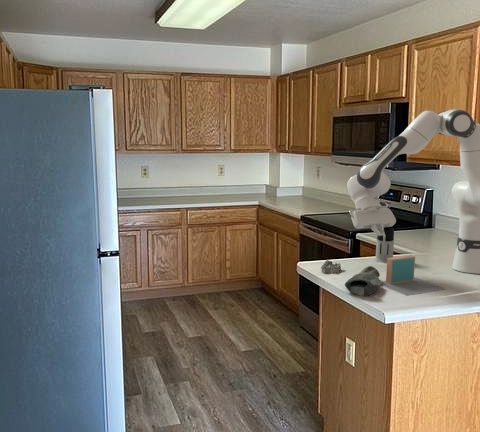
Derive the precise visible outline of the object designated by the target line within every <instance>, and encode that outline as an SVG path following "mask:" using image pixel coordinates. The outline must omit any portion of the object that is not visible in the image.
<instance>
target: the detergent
mask: <svg viewBox="0 0 480 432" xmlns="http://www.w3.org/2000/svg"><path fill="white" fill-rule="evenodd" d="M380 276H381V274H380V272H379V270H378V269H377V268H376V267H374V266H371V265H368V266H366V267H364V268H363V269H362V270H361V271H360V272H359V273H356V274H354V275H353V276H351V278H349V279H348V280H347V281H346V282H345V283H344V286H345V289H347V290H348V291H349V292H350V293H351V294H353V295H355V296H360V297H366V296H369V295H373V294H374V293H375V292H376V291H377V290H378V288H379V287H380V286H382V285H381V280H380V278H379V277H380Z"/></svg>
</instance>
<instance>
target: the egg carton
mask: <svg viewBox="0 0 480 432" xmlns="http://www.w3.org/2000/svg"><path fill="white" fill-rule="evenodd" d="M341 267H342V263H337V262H335V263H333V261H331V260H329V259H326V260H325V262H324V263H323V264H321V266H320V269H321V273H322V274H330V275H334V274H337V273H339V271H341V270H342V268H341Z"/></svg>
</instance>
